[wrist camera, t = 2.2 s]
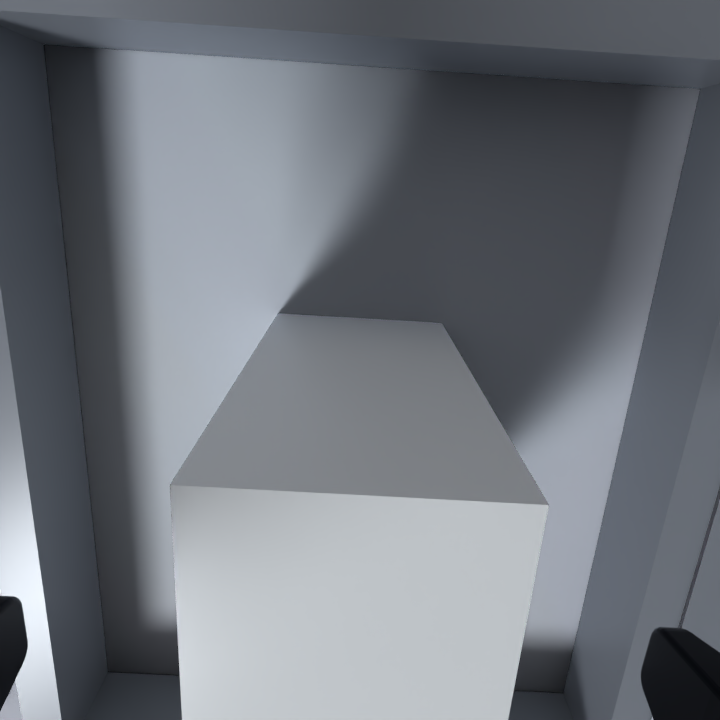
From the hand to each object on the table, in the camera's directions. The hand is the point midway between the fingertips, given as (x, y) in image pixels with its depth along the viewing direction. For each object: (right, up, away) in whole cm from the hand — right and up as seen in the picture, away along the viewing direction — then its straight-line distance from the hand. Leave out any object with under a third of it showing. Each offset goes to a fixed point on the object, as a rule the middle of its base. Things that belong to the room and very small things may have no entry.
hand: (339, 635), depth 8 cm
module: (0, +2, +6) cm, 7 cm away
